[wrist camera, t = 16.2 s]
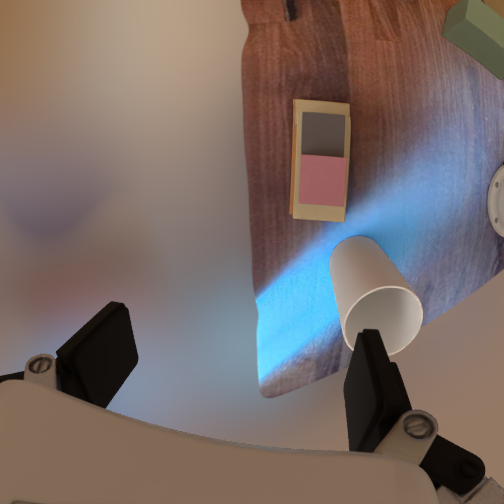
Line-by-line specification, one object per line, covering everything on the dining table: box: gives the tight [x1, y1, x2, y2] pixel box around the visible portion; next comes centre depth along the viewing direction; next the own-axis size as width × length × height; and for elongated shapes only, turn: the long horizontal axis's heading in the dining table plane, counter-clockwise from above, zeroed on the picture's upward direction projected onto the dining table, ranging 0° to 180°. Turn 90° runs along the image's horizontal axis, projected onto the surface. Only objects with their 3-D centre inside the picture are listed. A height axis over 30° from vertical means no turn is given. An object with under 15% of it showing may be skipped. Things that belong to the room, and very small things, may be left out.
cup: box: [329, 236, 423, 356], centre depth 33 cm, size 8×8×16 cm
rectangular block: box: [442, 0, 504, 80], centre depth 22 cm, size 12×6×8 cm, turn 69°
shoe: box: [289, 99, 351, 222], centre depth 34 cm, size 15×7×6 cm, turn 179°
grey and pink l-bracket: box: [299, 112, 347, 207], centre depth 29 cm, size 10×5×3 cm, turn 179°
